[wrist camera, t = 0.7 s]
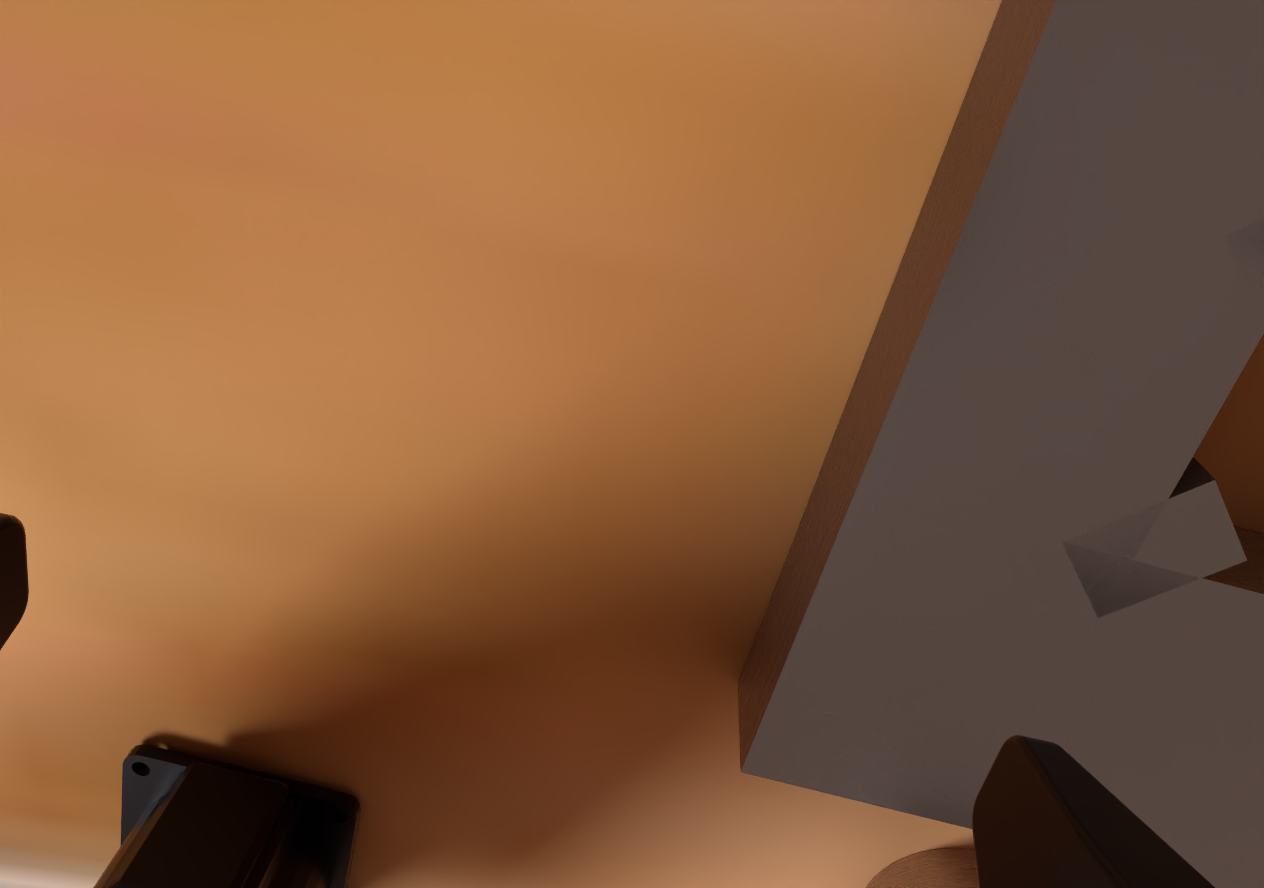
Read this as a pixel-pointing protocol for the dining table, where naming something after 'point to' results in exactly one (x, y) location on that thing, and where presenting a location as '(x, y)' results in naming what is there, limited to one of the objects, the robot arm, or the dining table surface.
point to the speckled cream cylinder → (931, 870)
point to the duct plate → (1049, 451)
